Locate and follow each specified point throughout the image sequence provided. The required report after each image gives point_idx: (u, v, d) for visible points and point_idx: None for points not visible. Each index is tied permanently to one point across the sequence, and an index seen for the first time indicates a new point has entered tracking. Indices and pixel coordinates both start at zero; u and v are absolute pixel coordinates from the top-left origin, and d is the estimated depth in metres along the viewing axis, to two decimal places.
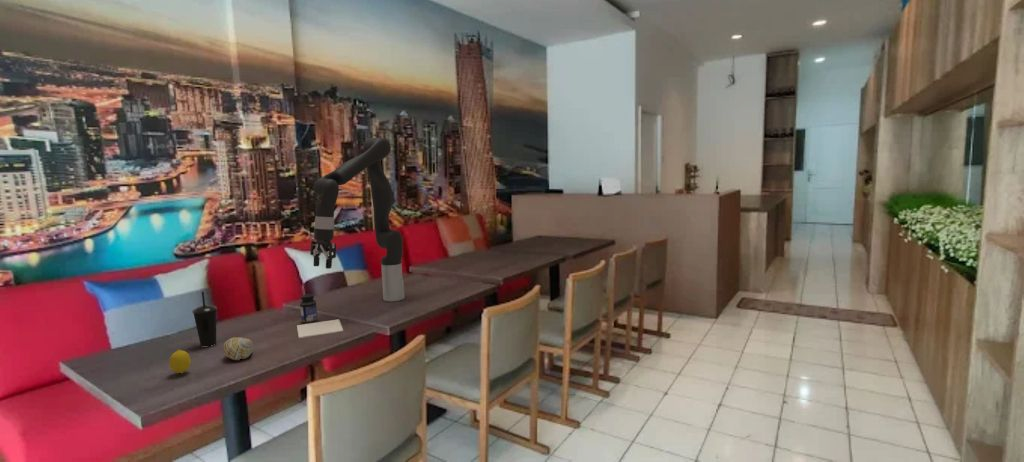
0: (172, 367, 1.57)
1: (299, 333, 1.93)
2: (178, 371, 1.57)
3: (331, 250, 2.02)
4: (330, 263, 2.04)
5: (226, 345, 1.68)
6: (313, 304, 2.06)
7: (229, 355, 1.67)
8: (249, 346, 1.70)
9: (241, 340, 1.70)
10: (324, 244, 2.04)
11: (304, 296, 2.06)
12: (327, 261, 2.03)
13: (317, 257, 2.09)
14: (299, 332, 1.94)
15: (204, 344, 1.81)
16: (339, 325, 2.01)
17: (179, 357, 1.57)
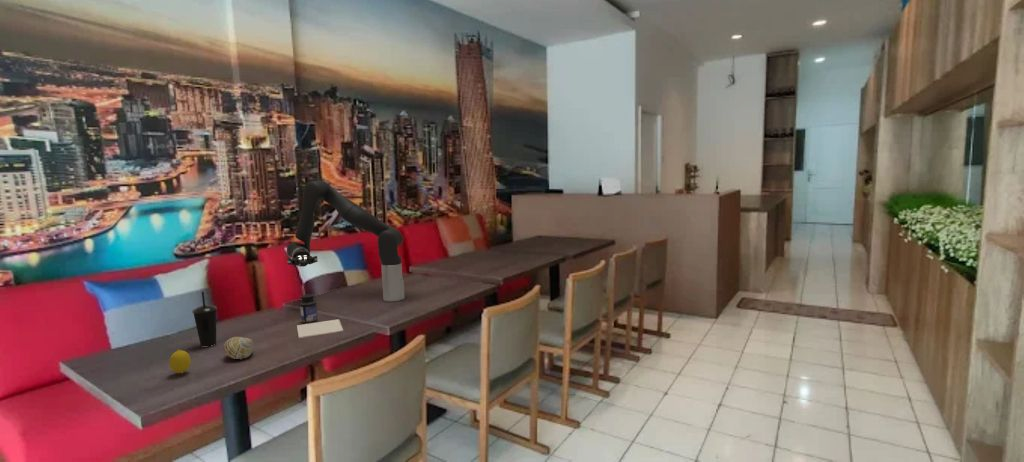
0: (172, 367, 1.57)
1: (299, 333, 1.93)
2: (178, 371, 1.57)
3: (291, 264, 2.19)
4: (300, 263, 2.16)
5: (227, 345, 1.69)
6: (313, 304, 2.06)
7: (230, 354, 1.68)
8: (250, 345, 1.70)
9: (242, 339, 1.70)
10: None
11: (304, 296, 2.06)
12: None
13: None
14: (299, 332, 1.94)
15: (204, 344, 1.81)
16: (339, 325, 2.01)
17: (179, 357, 1.57)
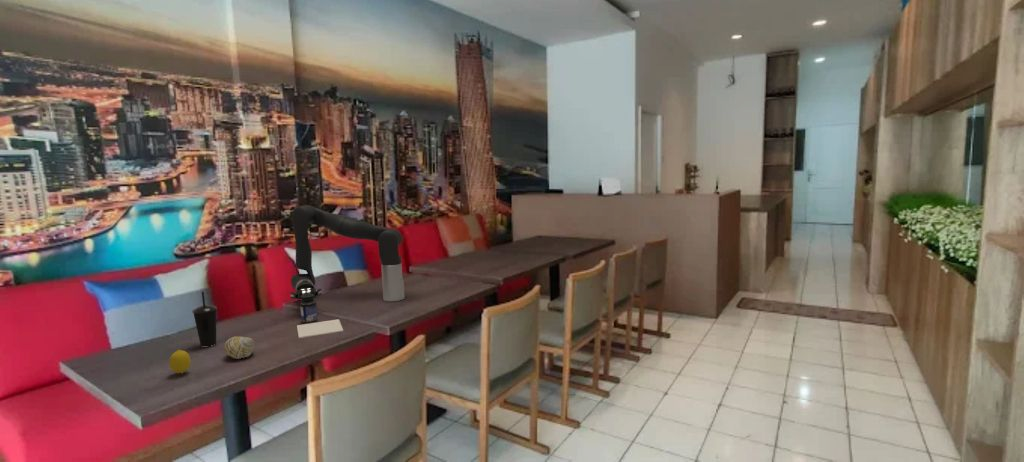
0: (172, 367, 1.57)
1: (299, 333, 1.93)
2: (178, 371, 1.57)
3: (294, 297, 2.14)
4: None
5: (228, 344, 1.69)
6: (313, 304, 2.06)
7: (231, 354, 1.68)
8: (251, 345, 1.71)
9: (243, 339, 1.71)
10: None
11: (304, 296, 2.06)
12: None
13: None
14: (299, 332, 1.94)
15: (204, 344, 1.81)
16: (339, 325, 2.01)
17: (179, 356, 1.57)
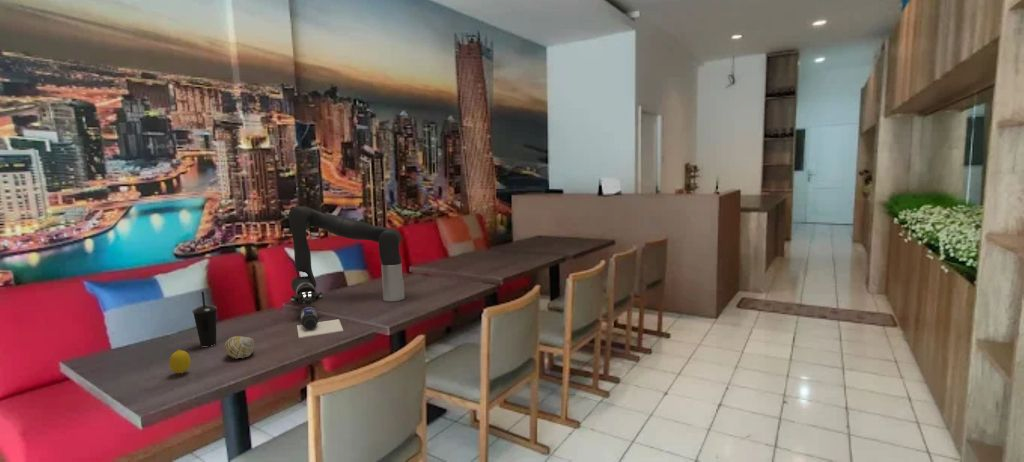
0: (172, 367, 1.57)
1: (299, 333, 1.93)
2: (178, 371, 1.57)
3: (295, 301, 2.08)
4: (304, 301, 2.05)
5: (228, 344, 1.69)
6: None
7: (231, 354, 1.69)
8: (251, 345, 1.71)
9: (243, 339, 1.71)
10: None
11: (307, 326, 1.95)
12: None
13: None
14: (299, 332, 1.94)
15: (204, 344, 1.81)
16: (339, 325, 2.01)
17: (179, 357, 1.57)
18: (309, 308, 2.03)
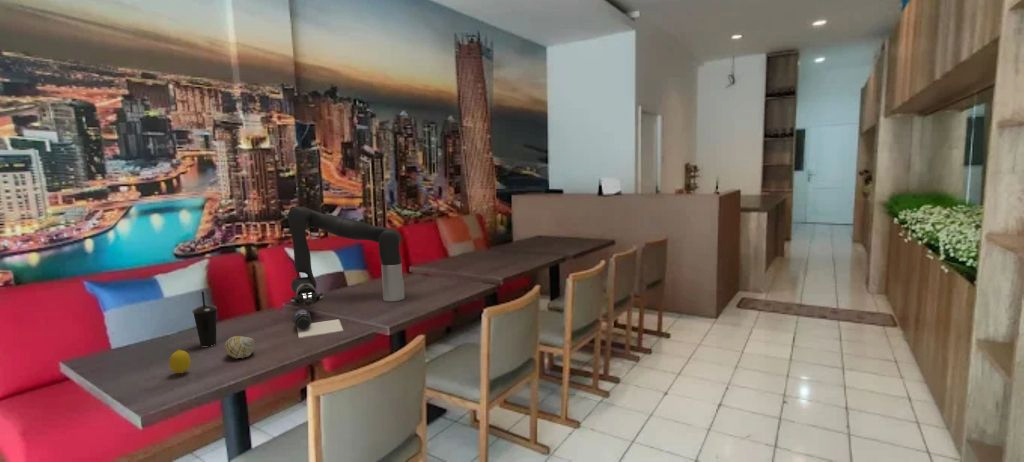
0: (172, 367, 1.57)
1: (299, 333, 1.93)
2: (178, 371, 1.57)
3: (295, 302, 2.07)
4: (304, 302, 2.04)
5: (228, 344, 1.69)
6: None
7: (231, 354, 1.69)
8: (251, 344, 1.71)
9: (243, 339, 1.71)
10: None
11: (302, 327, 1.95)
12: None
13: None
14: (299, 332, 1.94)
15: (204, 344, 1.81)
16: (339, 325, 2.01)
17: (179, 357, 1.57)
18: (297, 312, 2.02)
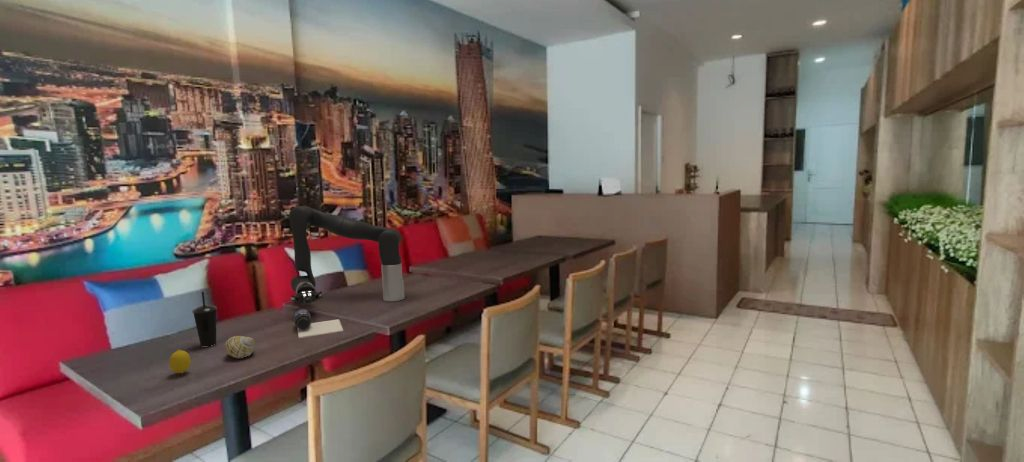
0: (172, 367, 1.57)
1: (299, 333, 1.93)
2: (178, 371, 1.57)
3: (295, 300, 2.10)
4: (304, 300, 2.07)
5: (228, 344, 1.70)
6: None
7: (231, 353, 1.69)
8: (251, 344, 1.71)
9: (243, 338, 1.71)
10: None
11: (302, 327, 1.95)
12: None
13: None
14: (299, 332, 1.94)
15: (204, 344, 1.81)
16: (339, 325, 2.01)
17: (179, 357, 1.57)
18: (297, 312, 2.02)
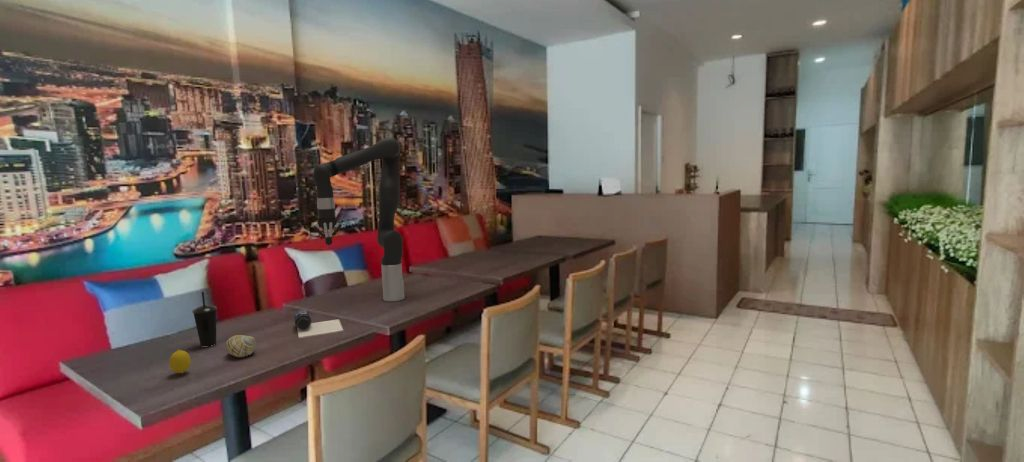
0: (172, 367, 1.57)
1: (299, 333, 1.93)
2: (178, 371, 1.57)
3: None
4: (325, 240, 2.32)
5: (229, 343, 1.70)
6: None
7: (233, 352, 1.70)
8: (252, 343, 1.72)
9: (244, 337, 1.72)
10: None
11: (302, 327, 1.95)
12: None
13: (328, 237, 2.32)
14: (299, 332, 1.94)
15: (204, 344, 1.81)
16: (339, 325, 2.01)
17: (179, 357, 1.57)
18: (297, 312, 2.02)
